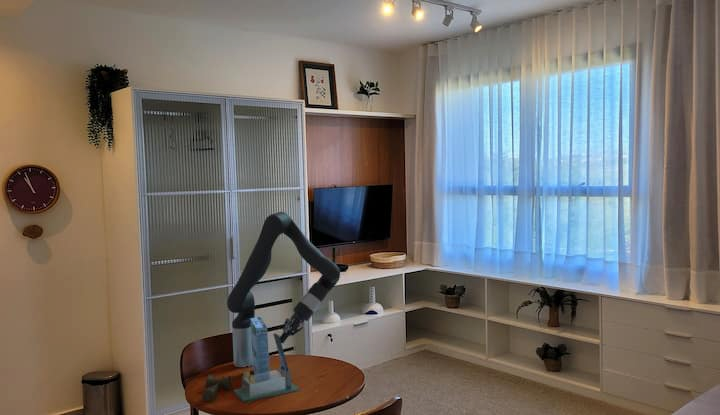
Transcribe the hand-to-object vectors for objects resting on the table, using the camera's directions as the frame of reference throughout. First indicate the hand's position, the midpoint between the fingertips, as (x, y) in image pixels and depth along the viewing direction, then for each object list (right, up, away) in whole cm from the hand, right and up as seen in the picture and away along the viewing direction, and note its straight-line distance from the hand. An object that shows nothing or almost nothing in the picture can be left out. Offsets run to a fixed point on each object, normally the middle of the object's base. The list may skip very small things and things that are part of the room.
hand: (280, 341), depth 221 cm
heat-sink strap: (0, -5, 0) cm, 5 cm away
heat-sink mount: (-5, -19, -3) cm, 19 cm away
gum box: (-10, -18, +15) cm, 26 cm away
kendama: (-24, -20, -2) cm, 31 cm away
